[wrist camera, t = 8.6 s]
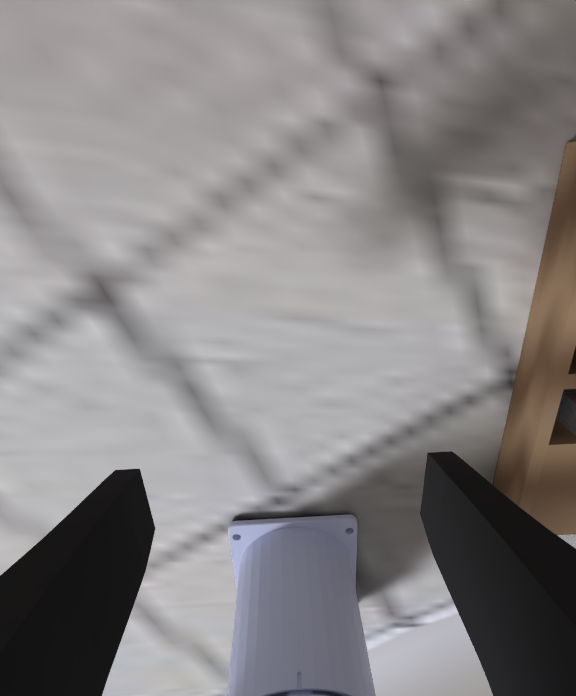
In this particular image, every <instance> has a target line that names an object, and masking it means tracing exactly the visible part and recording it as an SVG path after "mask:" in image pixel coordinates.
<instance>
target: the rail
mask: <svg viewBox="0 0 576 696" xmlns="http://www.w3.org/2000/svg"><path fill="white" fill-rule="evenodd" d="M575 347H576V142H567V143H566V148H565V152H564V157H563V162H562V166H561V171H560V176H559V180H558V185H557V190H556V194H555V199H554V203H553V208H552V213H551V217H550V222H549V227H548V231H547V236H546V241H545V245H544V250H543V254H542V259H541V264H540V268H539V273H538V278H537V282H536V287H535V292H534V296H533V301H532V305H531V310H530V315H529V319H528V324H527V329H526V333H525V338H524V343H523V347H522V352H521V356H520V361H519V366H518V370H517V375H516V380H515V384H514V389H513V394H512V398H511V403H510V407H509V412H508V417H507V421H506V426H505V431H504V435H503V440H502V445H501V449H500V454H499V458H498V463H497V468H496V472H495V477H494V482H493V486H494V487H496V488H497V489H498V490H499V491H500V492H502V493H503V494H504V495H505V496H507V497H508V498H509V499H510V500H512V501H513V502H514V503H515V504H517V505H518V506H519V507H520V508H522V509H523V510H524V511H525V512H527V513H528V514H529V515H530V516H532V517H533V518H534V519H536V520H537V521H538V522H540V523H541V524H542V525H544V526H545V527H546V528H547V529H549V530H550V531H551V532H553V533H554V534H556V535H567V534H576V436H575V435H574V434H573V433H572V432H571V431H569V430H568V429H567V428H566V427H565V426H564V425H563V424H561V423H560V422H559V421H558V420H557V419H556V416H557V412H558V409H559V405H560V401H561V398H562V394H563V391H564V389H576V349H575Z"/></svg>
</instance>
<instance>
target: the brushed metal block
mask: <svg viewBox="0 0 576 696" xmlns="http://www.w3.org/2000/svg"><path fill="white" fill-rule="evenodd" d="M575 348H576V347H575ZM556 419H557V420H558V421H559V422H560V423H561V424H563V425H564V426H565V427H566V428H567V429H568V430H569V431H571V432H572V433H573V434H574V435H575V436H576V389H564V391H563V394H562V398H561V401H560V405H559V409H558V412H557V416H556Z"/></svg>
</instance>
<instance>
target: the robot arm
mask: <svg viewBox="0 0 576 696" xmlns="http://www.w3.org/2000/svg"><path fill="white" fill-rule="evenodd" d="M420 514H421V518H422V521H423V524H424V528H425V531H426V534H427V537H428V541H429V544H430V547H431V550H432V553H433V556H434V558H435V560H436V563H437V565H438V567H439V570H440V572H441V574H442V576H443V579H444V581H445V583H446V585H447V588H448V590H449V592H450V594H451V597H452V599H453V601H454V603H455V606H456V608H457V610H458V612H459V615H460V617H461V619H462V621H463V623H464V626H465V628H466V630H467V633H468V635H469V637H470V639H471V641H472V644H473V646H474V648H475V651H476V653H477V655H478V657H479V660H480V662H481V665H482V667H483V670H484V672H485V675H486V677H487V680H488V682H489V685H490V688H491V691H492V693H493V696H576V549H575V548H574V547H572V546H571V545H569V544H568V543H567V542H565V541H564V540H562V539H561V538H560V537H558V536H557V535H556V534H554V533H553V532H551V531H550V530H549V529H547V528H546V527H545V526H544V525H542V524H541V523H540V522H538V521H537V520H536V519H534V518H533V517H532V516H530V515H529V514H528V513H527V512H525V511H524V510H523V509H522V508H520V507H519V506H518V505H517V504H515V503H514V502H513V501H512V500H510V499H509V498H508V497H507V496H505V495H504V494H503V493H502V492H500V491H499V490H498V489H497V488H496V487H494V486H493V485H492V484H491V483H490V482H488V481H487V480H486V479H485V478H484V477H482V476H481V475H480V474H479V473H478V472H476V471H475V470H474V469H473V468H472V467H470V466H469V465H468V464H467V463H466V462H464V461H463V460H462V459H461V458H460V457H458V456H457V455H456V454H455V453H453V452H435V453H428V455H427V463H426V471H425V479H424V488H423V496H422V504H421V512H420ZM357 526H358V524H357V519H356V517H355V516H353V515H332V516H314V517H296V518H278V519H260V520H242V521H233V522H231V523H230V524H229V526H228V536H229V543H230V549H231V556H232V562H233V569H234V575H235V582H236V588H237V598H236V608H235V618H234V629H233V639H232V650H231V660H230V670H229V681H228V691H227V696H376V695H375V690H374V685H373V679H372V674H371V669H370V664H369V658H368V653H367V648H366V642H365V637H364V632H363V627H362V621H361V616H360V611H359V605H358V600H357V595H356V590H355V585H356V555H357ZM347 528H350V529H347ZM154 531H155V526H154V522H153V518H152V515H151V511H150V507H149V503H148V499H147V495H146V491H145V487H144V484H143V480H142V476H141V472H140V469H128V470H115V471H114V472H113V473H112V474H111V475H110V476H108V477H107V478H106V479H105V480H104V481H103V482H102V483H101V484H100V485H99V486H98V487H97V488H96V489H95V490H94V491H93V492H92V493H91V494H89V495H88V496H87V497H86V498H85V499H84V500H83V501H82V502H81V503H80V504H79V505H78V506H77V507H76V508H75V509H74V510H73V511H72V512H71V513H70V514H69V515H68V516H66V517H65V518H64V519H63V520H62V521H61V522H60V523H59V524H58V525H57V526H56V527H55V528H54V529H53V530H52V531H50V532H49V533H48V534H47V535H46V536H45V537H44V538H43V539H42V540H41V541H40V542H39V543H37V544H36V545H35V546H34V547H33V548H32V549H31V550H29V551H28V552H27V553H26V554H25V555H24V556H23V557H21V558H20V559H19V560H18V561H17V562H16V563H15V564H13V565H12V566H11V567H10V568H9V569H8V570H7V571H5V572H4V573H3V574H2V575H1V576H0V696H102V693H103V690H104V687H105V684H106V681H107V678H108V675H109V672H110V669H111V667H112V664H113V661H114V658H115V655H116V653H117V650H118V647H119V644H120V641H121V639H122V636H123V633H124V630H125V627H126V625H127V622H128V619H129V616H130V614H131V611H132V608H133V605H134V602H135V599H136V597H137V594H138V591H139V588H140V585H141V582H142V579H143V576H144V573H145V570H146V566H147V562H148V558H149V554H150V550H151V545H152V541H153V536H154ZM235 534H238V535H235Z"/></svg>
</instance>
